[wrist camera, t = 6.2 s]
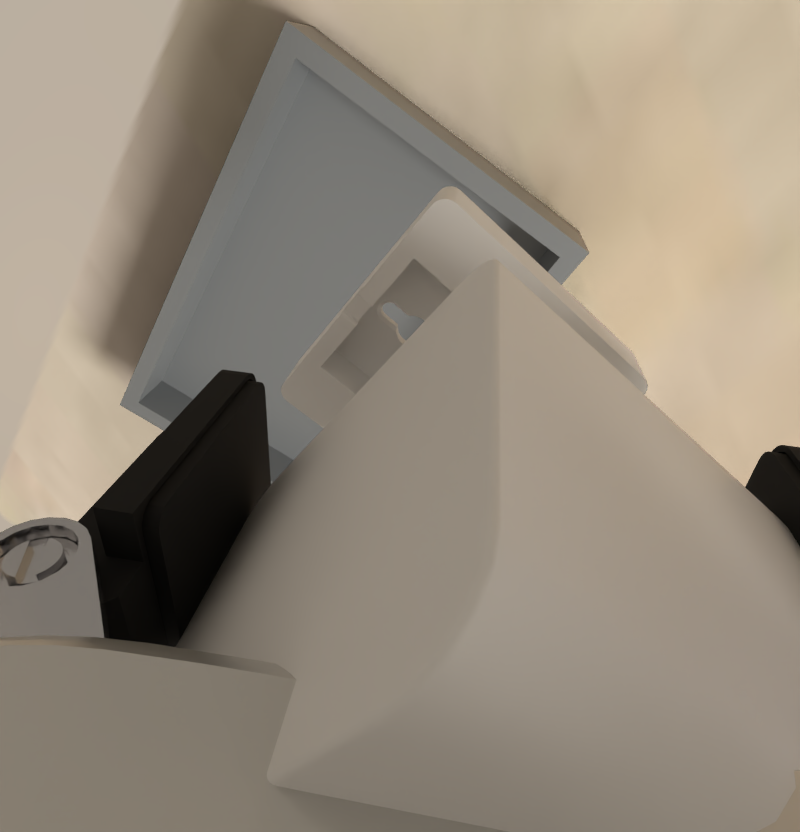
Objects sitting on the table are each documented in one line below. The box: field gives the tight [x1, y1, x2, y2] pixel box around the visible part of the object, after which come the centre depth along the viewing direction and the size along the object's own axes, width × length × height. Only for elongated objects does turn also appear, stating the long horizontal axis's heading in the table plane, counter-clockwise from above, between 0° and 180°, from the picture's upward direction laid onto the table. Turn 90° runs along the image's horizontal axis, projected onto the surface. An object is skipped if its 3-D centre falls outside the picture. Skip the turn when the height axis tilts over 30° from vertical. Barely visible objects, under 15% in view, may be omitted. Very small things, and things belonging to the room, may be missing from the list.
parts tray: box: [120, 21, 589, 484], centre depth 28 cm, size 20×14×4 cm
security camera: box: [176, 186, 800, 832], centre depth 9 cm, size 6×7×10 cm
